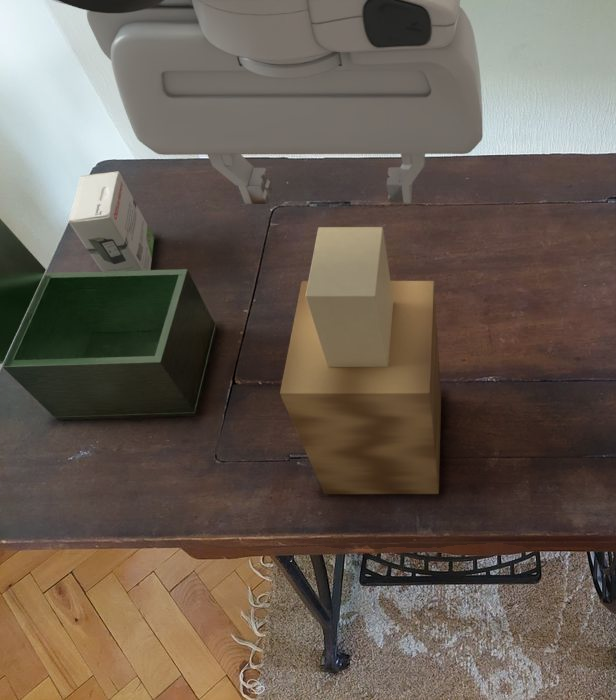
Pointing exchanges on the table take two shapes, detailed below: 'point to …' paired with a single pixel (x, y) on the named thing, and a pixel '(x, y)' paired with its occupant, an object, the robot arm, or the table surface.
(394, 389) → the stand
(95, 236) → the ink box
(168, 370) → the bin
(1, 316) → the lid
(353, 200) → the table surface
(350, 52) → the robot arm
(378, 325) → the carton
